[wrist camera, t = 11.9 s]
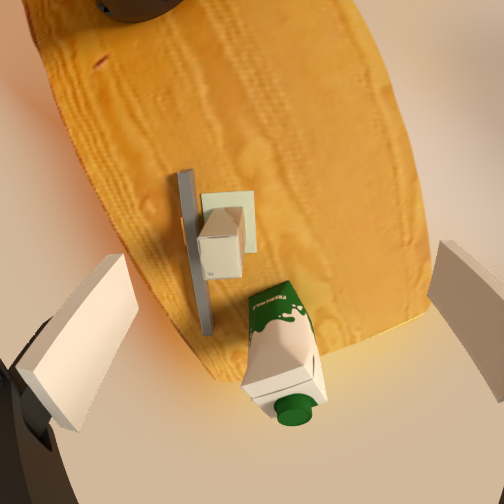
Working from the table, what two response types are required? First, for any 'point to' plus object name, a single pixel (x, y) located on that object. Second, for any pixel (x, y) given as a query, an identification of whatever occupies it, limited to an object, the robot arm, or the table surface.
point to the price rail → (194, 247)
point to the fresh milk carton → (283, 357)
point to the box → (223, 244)
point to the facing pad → (234, 200)
